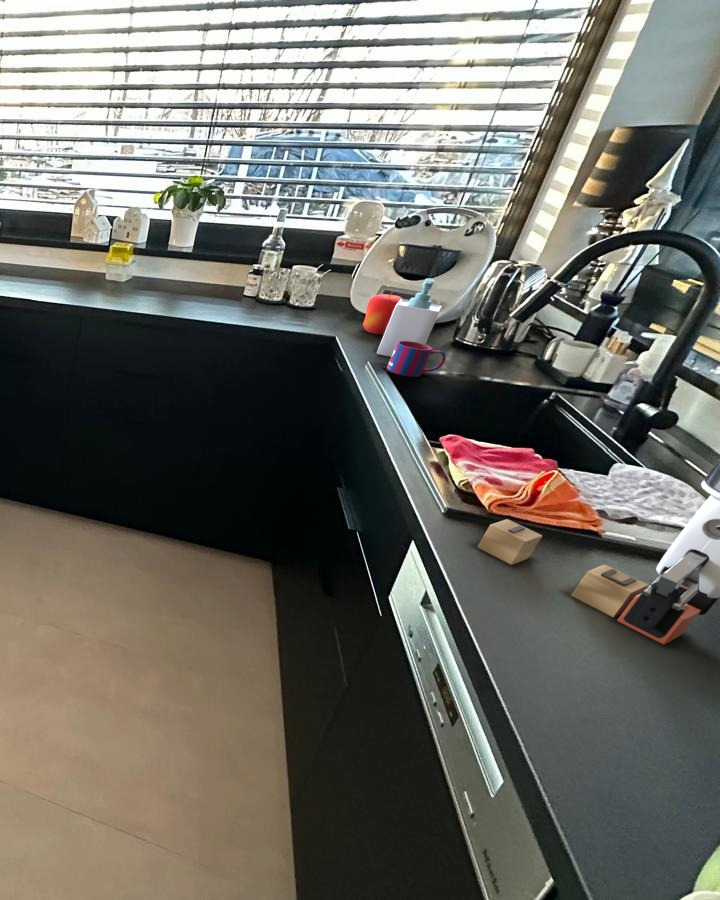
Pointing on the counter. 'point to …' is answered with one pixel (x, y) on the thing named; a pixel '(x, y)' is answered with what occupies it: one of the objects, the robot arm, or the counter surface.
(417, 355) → the mug
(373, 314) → the apple
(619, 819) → the counter surface
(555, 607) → the counter surface
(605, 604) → the block
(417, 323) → the soap bottle
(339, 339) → the counter surface
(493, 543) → the block
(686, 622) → the block
